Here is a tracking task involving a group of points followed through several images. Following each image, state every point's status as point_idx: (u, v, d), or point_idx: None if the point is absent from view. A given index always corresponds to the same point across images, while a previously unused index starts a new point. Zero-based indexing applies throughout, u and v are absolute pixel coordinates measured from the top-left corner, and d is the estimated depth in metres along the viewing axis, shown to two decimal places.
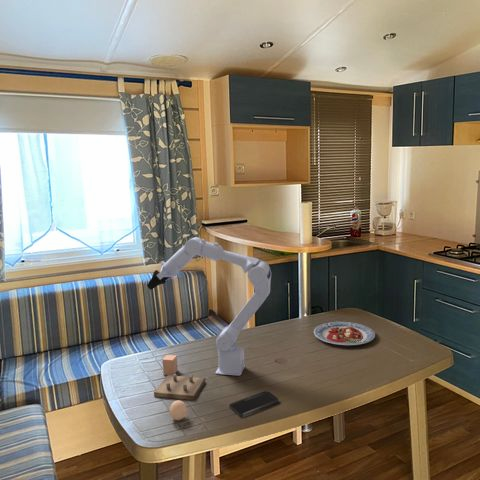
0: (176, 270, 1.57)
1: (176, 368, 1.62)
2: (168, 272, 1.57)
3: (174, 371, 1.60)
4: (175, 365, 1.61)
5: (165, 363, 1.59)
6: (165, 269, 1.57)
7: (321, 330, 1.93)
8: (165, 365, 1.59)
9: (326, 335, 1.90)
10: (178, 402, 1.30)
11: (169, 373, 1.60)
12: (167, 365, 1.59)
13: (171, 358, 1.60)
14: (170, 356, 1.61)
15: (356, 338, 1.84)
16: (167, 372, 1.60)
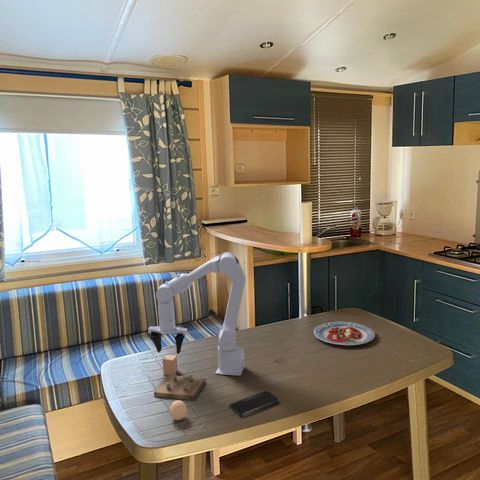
0: None
1: (176, 368, 1.62)
2: (175, 327, 1.59)
3: (174, 371, 1.60)
4: (175, 365, 1.61)
5: (165, 363, 1.59)
6: (173, 329, 1.57)
7: (321, 330, 1.93)
8: (165, 365, 1.59)
9: (326, 335, 1.90)
10: (178, 402, 1.30)
11: (169, 373, 1.60)
12: (167, 365, 1.59)
13: (171, 358, 1.60)
14: (170, 356, 1.61)
15: (356, 338, 1.84)
16: (167, 372, 1.60)
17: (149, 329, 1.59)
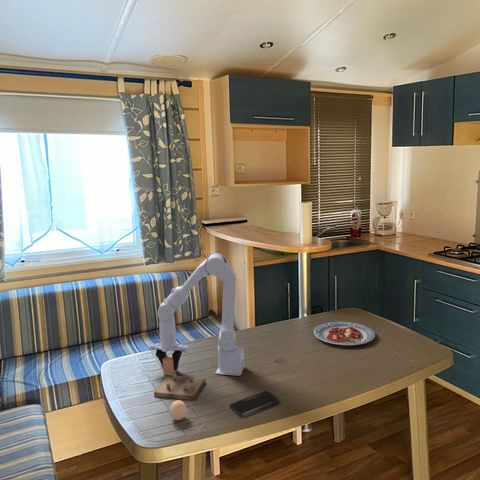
0: None
1: None
2: (176, 344, 1.60)
3: (174, 371, 1.60)
4: None
5: (165, 363, 1.59)
6: (175, 346, 1.58)
7: (321, 330, 1.93)
8: (165, 365, 1.59)
9: (326, 335, 1.90)
10: (178, 402, 1.30)
11: (169, 373, 1.60)
12: (167, 365, 1.59)
13: (171, 358, 1.60)
14: (170, 356, 1.61)
15: (356, 338, 1.84)
16: (167, 372, 1.60)
17: (150, 346, 1.61)
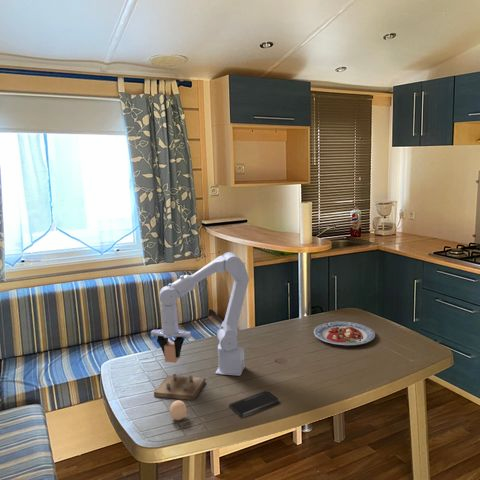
0: None
1: None
2: (178, 330, 1.55)
3: (176, 358, 1.55)
4: None
5: (167, 350, 1.54)
6: (177, 332, 1.53)
7: (321, 330, 1.93)
8: (167, 352, 1.54)
9: (326, 335, 1.90)
10: (178, 402, 1.30)
11: (171, 360, 1.54)
12: (169, 352, 1.54)
13: (173, 345, 1.54)
14: (172, 343, 1.56)
15: (356, 338, 1.84)
16: (168, 359, 1.54)
17: (152, 332, 1.55)
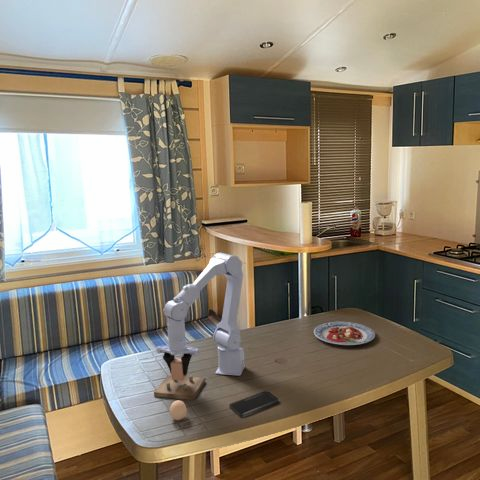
0: None
1: None
2: (185, 347, 1.47)
3: (183, 376, 1.47)
4: None
5: (174, 368, 1.46)
6: (184, 349, 1.45)
7: (321, 330, 1.93)
8: (174, 369, 1.46)
9: (326, 335, 1.90)
10: (178, 402, 1.30)
11: (178, 378, 1.46)
12: (176, 369, 1.46)
13: (180, 362, 1.47)
14: (179, 360, 1.48)
15: (356, 338, 1.84)
16: (175, 377, 1.47)
17: (157, 349, 1.47)
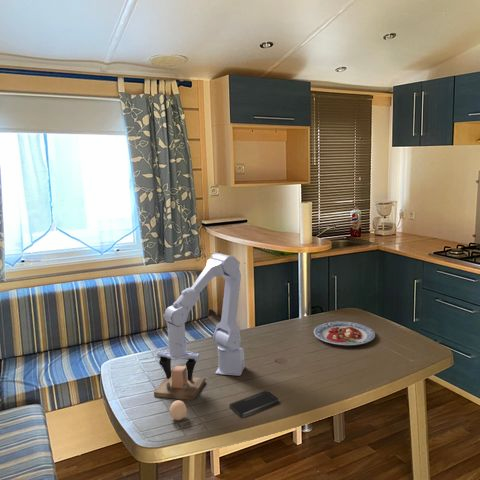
0: None
1: (186, 380, 1.49)
2: (186, 352, 1.47)
3: (184, 383, 1.47)
4: (185, 377, 1.48)
5: (174, 375, 1.47)
6: (184, 354, 1.46)
7: (321, 330, 1.93)
8: (174, 377, 1.47)
9: (326, 335, 1.90)
10: (178, 402, 1.30)
11: (178, 386, 1.47)
12: (176, 377, 1.47)
13: (180, 369, 1.47)
14: (179, 367, 1.49)
15: (356, 338, 1.84)
16: (176, 384, 1.47)
17: (158, 354, 1.48)
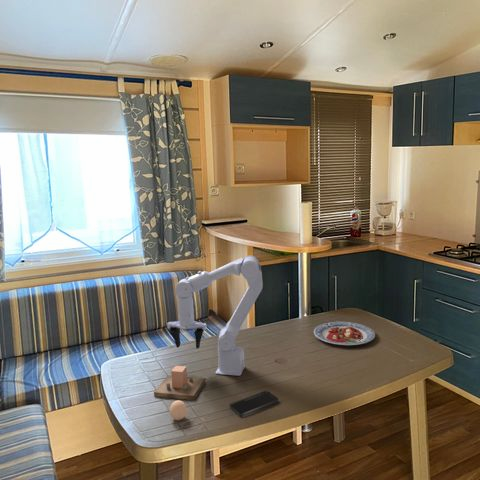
0: None
1: (186, 380, 1.49)
2: (194, 322, 1.60)
3: (184, 383, 1.47)
4: (185, 377, 1.48)
5: (174, 375, 1.47)
6: (193, 324, 1.58)
7: (321, 330, 1.93)
8: (174, 377, 1.47)
9: (326, 335, 1.90)
10: (178, 402, 1.30)
11: (178, 386, 1.47)
12: (176, 377, 1.47)
13: (180, 369, 1.47)
14: (179, 367, 1.49)
15: (356, 338, 1.84)
16: (176, 384, 1.47)
17: (168, 324, 1.60)
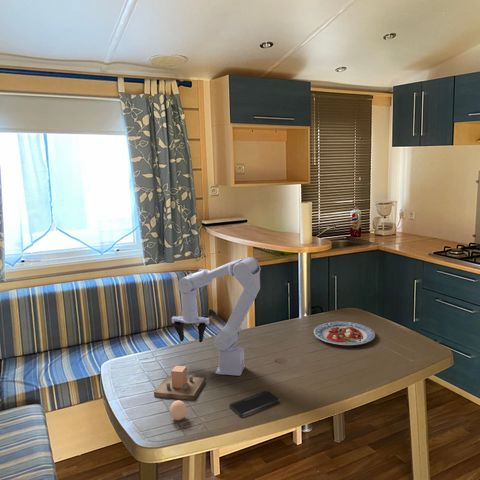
0: None
1: (186, 380, 1.49)
2: (197, 317, 1.65)
3: (184, 383, 1.47)
4: (185, 377, 1.48)
5: (174, 375, 1.47)
6: (196, 318, 1.63)
7: (321, 330, 1.93)
8: (174, 377, 1.47)
9: (326, 335, 1.90)
10: (178, 402, 1.30)
11: (178, 386, 1.47)
12: (176, 377, 1.47)
13: (180, 369, 1.47)
14: (179, 367, 1.49)
15: (356, 338, 1.84)
16: (176, 384, 1.47)
17: (172, 319, 1.65)
